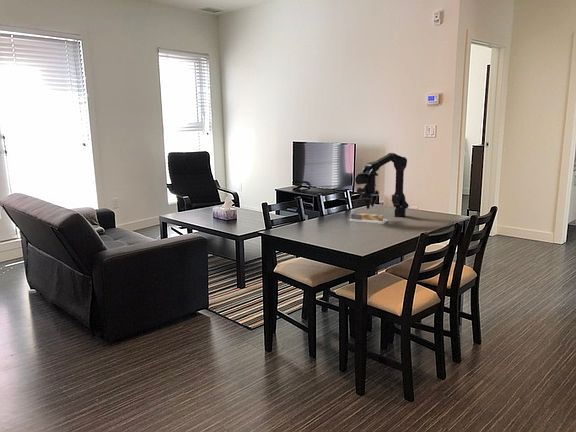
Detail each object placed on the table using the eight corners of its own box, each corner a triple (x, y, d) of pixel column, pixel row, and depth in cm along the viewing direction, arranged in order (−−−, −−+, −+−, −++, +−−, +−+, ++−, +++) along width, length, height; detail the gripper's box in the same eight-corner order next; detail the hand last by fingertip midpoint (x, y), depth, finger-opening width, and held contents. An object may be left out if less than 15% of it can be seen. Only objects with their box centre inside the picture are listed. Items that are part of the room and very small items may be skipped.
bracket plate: (387, 221, 294) (387, 214, 294) (383, 223, 287) (383, 217, 286) (354, 218, 304) (354, 212, 303) (349, 221, 296) (349, 214, 296)
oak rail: (383, 219, 293) (383, 215, 292) (381, 221, 289) (381, 216, 289) (356, 217, 301) (356, 213, 301) (353, 218, 298) (353, 214, 297)
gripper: (362, 181, 302) (362, 204, 305) (353, 184, 286) (353, 209, 289) (379, 181, 297) (379, 205, 300) (371, 185, 281) (370, 210, 284)
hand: (370, 207), depth 293 cm, fingers open, 9 cm apart
